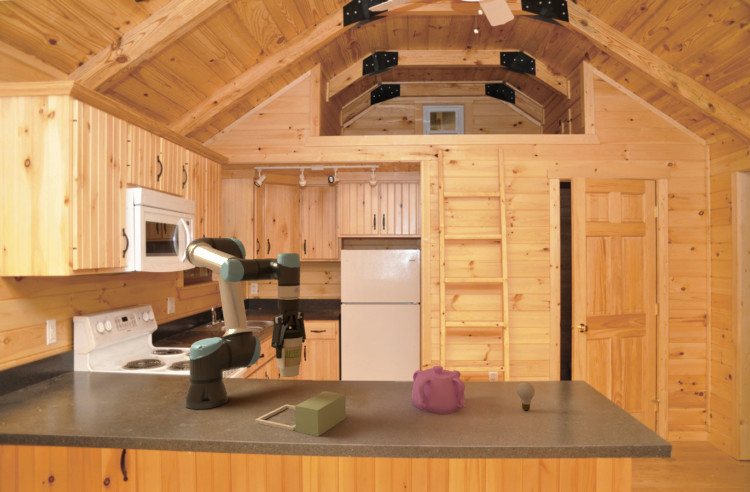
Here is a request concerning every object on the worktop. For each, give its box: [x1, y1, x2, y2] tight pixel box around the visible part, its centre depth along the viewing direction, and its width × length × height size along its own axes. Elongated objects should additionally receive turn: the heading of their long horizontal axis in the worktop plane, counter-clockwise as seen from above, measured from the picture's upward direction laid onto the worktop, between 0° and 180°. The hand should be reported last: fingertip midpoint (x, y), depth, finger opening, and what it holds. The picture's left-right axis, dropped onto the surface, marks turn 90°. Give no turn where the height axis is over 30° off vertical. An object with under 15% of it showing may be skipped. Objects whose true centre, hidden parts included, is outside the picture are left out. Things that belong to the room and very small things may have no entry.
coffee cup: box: [279, 327, 304, 378], centre depth 151 cm, size 10×10×15 cm
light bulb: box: [516, 381, 536, 412], centre depth 156 cm, size 6×6×10 cm
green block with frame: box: [254, 390, 347, 437], centre depth 149 cm, size 25×16×8 cm, turn 63°
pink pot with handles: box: [411, 365, 466, 415], centre depth 163 cm, size 19×21×14 cm
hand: (289, 364), depth 151 cm, fingers closed on coffee cup, 9 cm apart
